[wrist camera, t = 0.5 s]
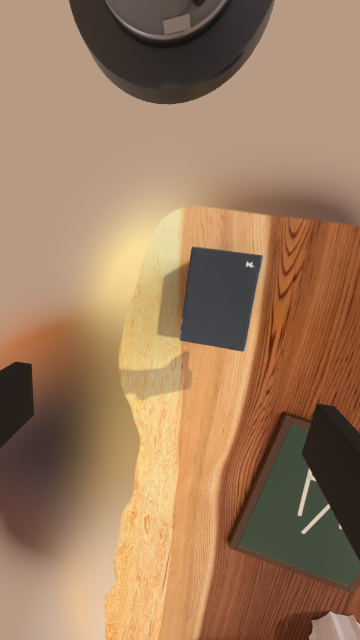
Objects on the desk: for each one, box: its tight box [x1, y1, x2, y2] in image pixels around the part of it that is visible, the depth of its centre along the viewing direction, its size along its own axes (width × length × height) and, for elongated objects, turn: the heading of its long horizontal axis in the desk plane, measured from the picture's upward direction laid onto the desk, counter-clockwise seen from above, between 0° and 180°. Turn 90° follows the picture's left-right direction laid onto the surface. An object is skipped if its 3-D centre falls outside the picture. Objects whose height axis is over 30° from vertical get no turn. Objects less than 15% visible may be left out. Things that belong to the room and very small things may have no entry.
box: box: [179, 247, 263, 351], centre depth 24 cm, size 8×6×11 cm
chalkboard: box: [229, 412, 360, 594], centre depth 32 cm, size 22×18×1 cm
